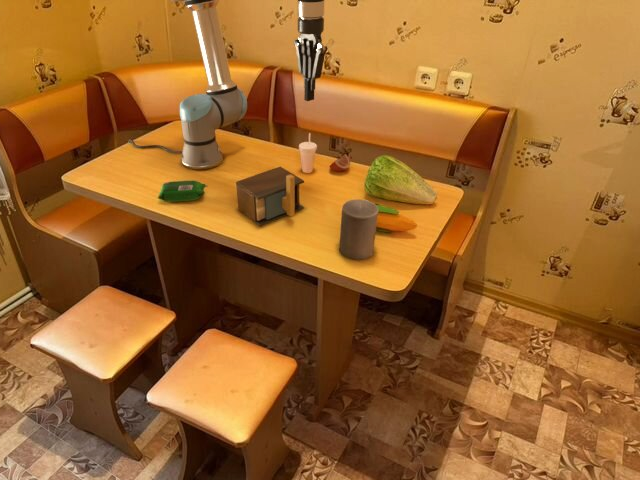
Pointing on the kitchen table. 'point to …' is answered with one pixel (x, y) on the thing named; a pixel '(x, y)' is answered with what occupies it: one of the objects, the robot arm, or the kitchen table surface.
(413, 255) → the kitchen table surface
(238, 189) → the box
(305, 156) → the smoothie
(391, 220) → the corn
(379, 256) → the kitchen table surface
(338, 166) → the fruit slice
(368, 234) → the pillar candle
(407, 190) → the lettuce
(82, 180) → the kitchen table surface
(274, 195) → the sliding door
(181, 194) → the snack package
